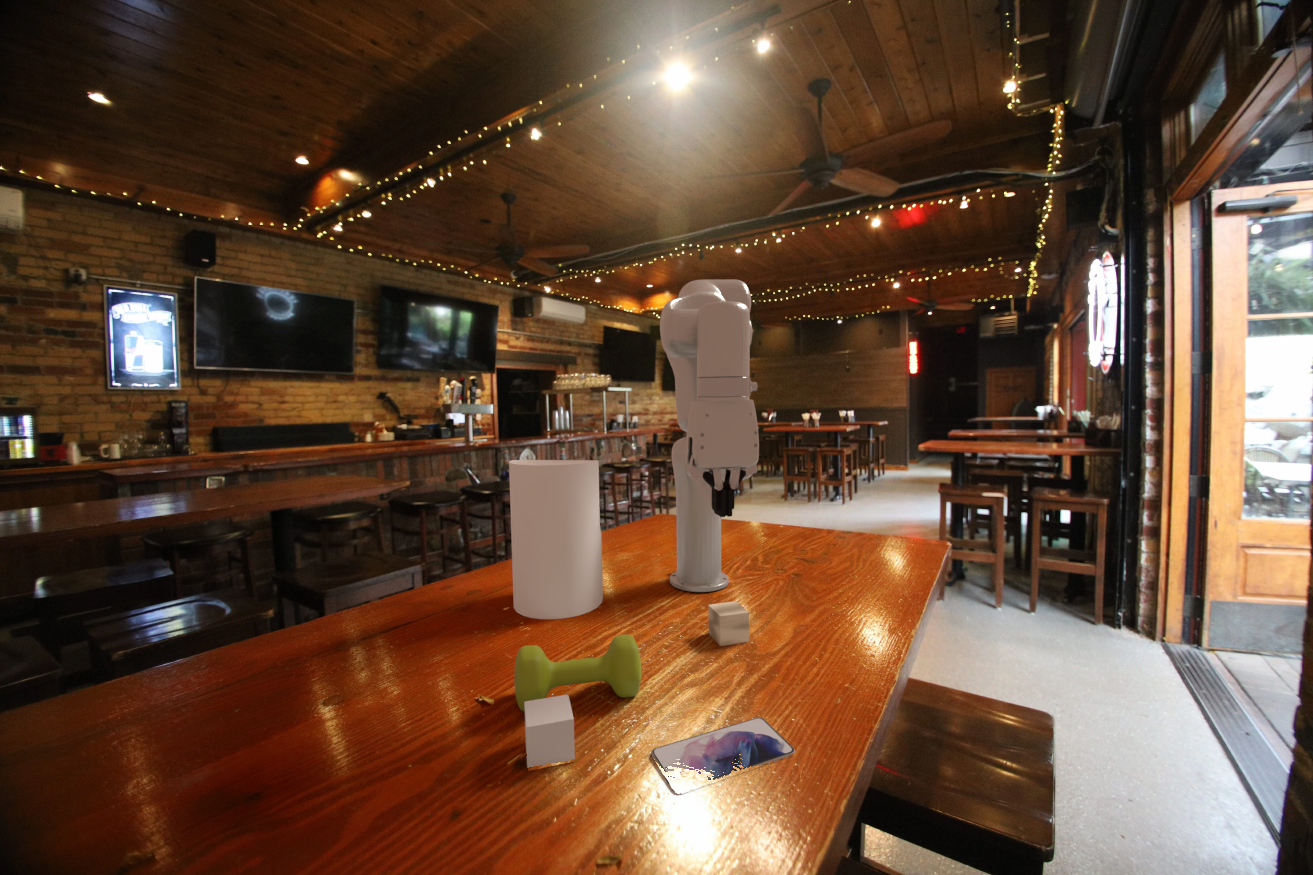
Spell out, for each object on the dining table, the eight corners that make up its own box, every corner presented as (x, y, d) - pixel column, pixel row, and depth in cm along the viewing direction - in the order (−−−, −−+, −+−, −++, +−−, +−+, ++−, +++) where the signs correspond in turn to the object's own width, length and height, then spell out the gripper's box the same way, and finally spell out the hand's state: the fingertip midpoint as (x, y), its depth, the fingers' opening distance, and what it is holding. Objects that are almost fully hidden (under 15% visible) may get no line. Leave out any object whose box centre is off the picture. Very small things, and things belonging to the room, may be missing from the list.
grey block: (525, 743, 61) (524, 701, 60) (569, 735, 62) (568, 694, 62) (527, 772, 56) (526, 727, 55) (574, 762, 57) (573, 718, 57)
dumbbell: (634, 674, 76) (634, 625, 75) (645, 705, 68) (644, 651, 67) (516, 689, 72) (515, 638, 72) (514, 724, 64) (512, 667, 64)
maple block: (708, 633, 89) (708, 604, 88) (735, 629, 90) (735, 601, 90) (720, 646, 84) (720, 616, 84) (748, 642, 85) (748, 612, 85)
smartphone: (798, 751, 58) (676, 792, 52) (798, 758, 58) (676, 800, 52) (761, 715, 64) (648, 748, 58) (761, 721, 65) (648, 755, 59)
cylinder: (588, 621, 94) (585, 465, 92) (497, 616, 96) (492, 465, 95) (612, 587, 111) (609, 455, 109) (534, 584, 114) (530, 455, 112)
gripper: (758, 389, 82) (757, 505, 83) (666, 390, 77) (667, 512, 79) (782, 389, 74) (780, 516, 76) (682, 391, 70) (683, 525, 72)
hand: (722, 514), depth 78 cm, fingers closed
